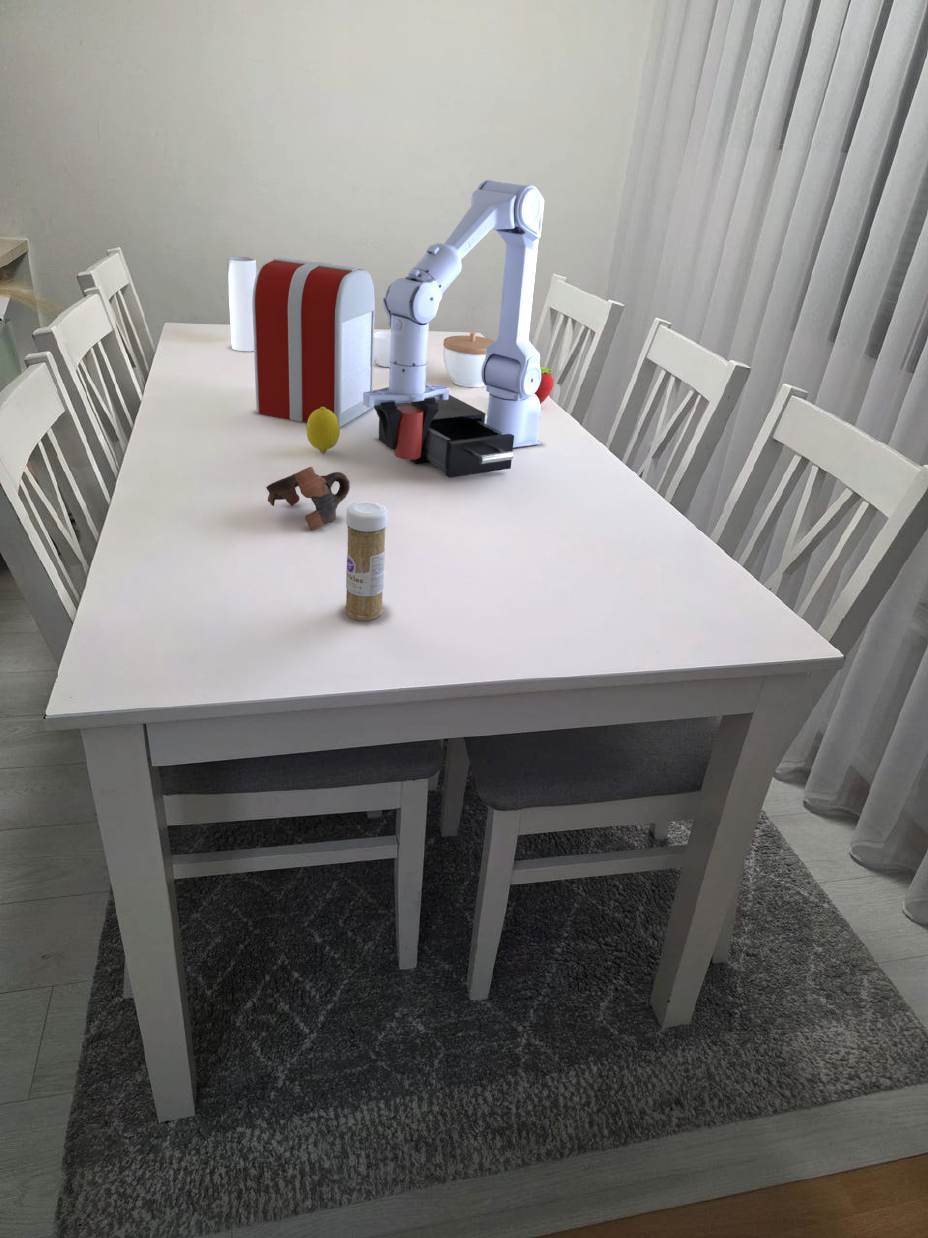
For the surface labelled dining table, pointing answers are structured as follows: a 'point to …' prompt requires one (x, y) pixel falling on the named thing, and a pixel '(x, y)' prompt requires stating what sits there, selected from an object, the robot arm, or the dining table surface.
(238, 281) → the vase
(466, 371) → the lidded bowl
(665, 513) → the dining table surface
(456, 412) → the warmer
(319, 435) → the lemon
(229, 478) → the dining table surface
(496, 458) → the tray drawer
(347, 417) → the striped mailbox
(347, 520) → the sprinkles bottle
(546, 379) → the strawberry
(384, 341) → the cup
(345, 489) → the broken mug
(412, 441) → the spice tin
